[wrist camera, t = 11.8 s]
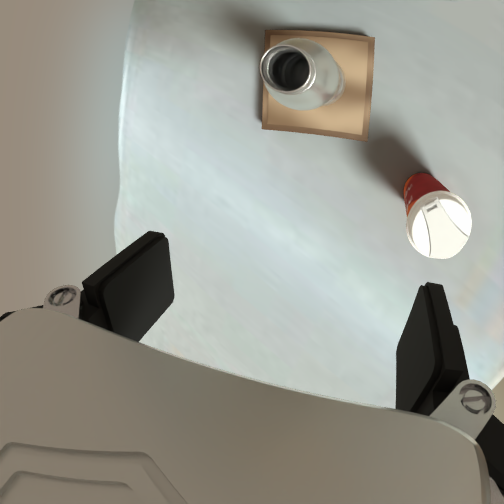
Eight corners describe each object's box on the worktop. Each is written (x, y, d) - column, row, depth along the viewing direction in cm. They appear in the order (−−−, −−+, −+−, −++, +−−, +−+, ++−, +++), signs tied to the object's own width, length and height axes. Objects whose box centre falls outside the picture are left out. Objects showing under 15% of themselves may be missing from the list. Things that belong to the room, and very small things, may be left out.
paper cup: (386, 180, 42) (395, 215, 30) (431, 155, 38) (458, 181, 26) (411, 226, 44) (424, 275, 32) (454, 203, 40) (483, 245, 28)
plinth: (271, 33, 37) (264, 29, 35) (373, 41, 34) (374, 37, 31) (267, 126, 44) (261, 129, 41) (366, 138, 40) (367, 142, 38)
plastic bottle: (319, 46, 34) (281, 6, 17) (357, 84, 35) (354, 72, 18) (284, 79, 37) (220, 69, 21) (321, 116, 38) (286, 133, 21)
